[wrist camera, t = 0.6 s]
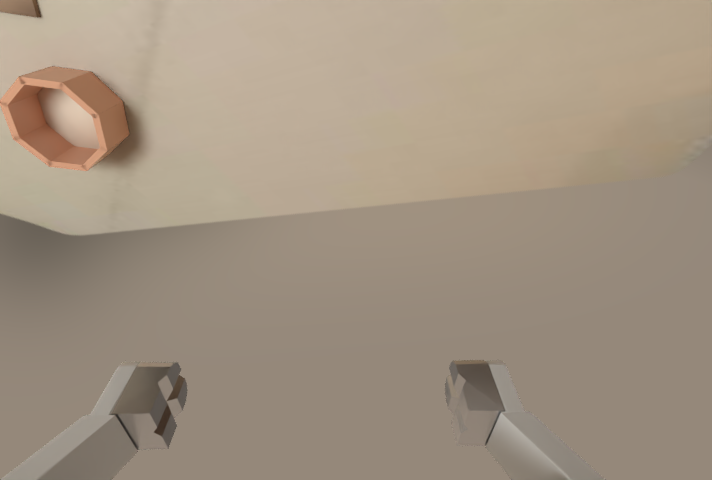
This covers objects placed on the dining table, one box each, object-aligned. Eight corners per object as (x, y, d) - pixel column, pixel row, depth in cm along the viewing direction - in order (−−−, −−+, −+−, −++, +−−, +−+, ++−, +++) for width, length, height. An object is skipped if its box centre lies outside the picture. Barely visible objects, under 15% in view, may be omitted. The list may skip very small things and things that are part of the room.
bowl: (24, 62, 47) (-13, 72, 42) (117, 75, 48) (92, 86, 43) (52, 146, 54) (22, 163, 49) (133, 156, 55) (112, 174, 50)
